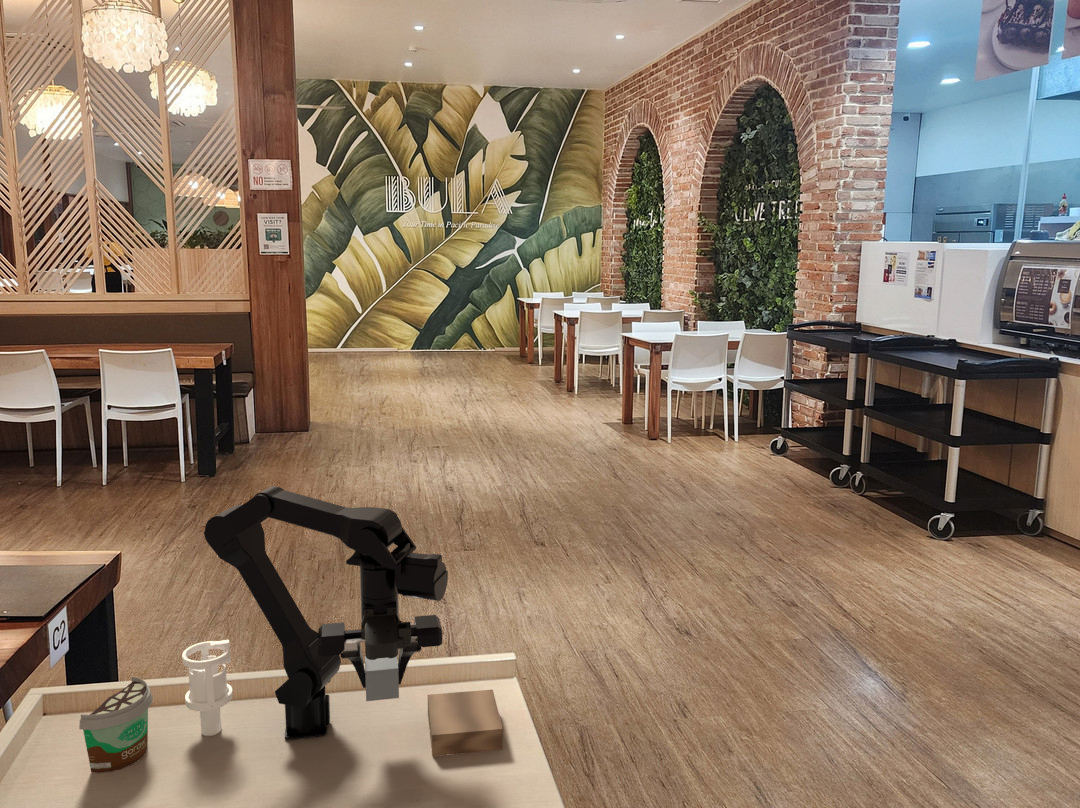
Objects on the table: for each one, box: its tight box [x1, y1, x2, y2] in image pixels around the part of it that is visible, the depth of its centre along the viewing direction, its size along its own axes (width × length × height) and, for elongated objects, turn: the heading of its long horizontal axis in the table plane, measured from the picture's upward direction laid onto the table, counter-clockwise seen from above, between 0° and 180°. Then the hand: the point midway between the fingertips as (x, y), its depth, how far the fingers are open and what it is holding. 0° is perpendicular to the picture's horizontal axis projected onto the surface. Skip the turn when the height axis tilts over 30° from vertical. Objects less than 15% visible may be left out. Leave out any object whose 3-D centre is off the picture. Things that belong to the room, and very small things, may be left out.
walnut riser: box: [427, 689, 504, 757], centre depth 138 cm, size 11×12×4 cm
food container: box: [78, 676, 154, 774], centre depth 130 cm, size 12×6×10 cm, turn 168°
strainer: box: [181, 639, 234, 737], centre depth 136 cm, size 7×7×15 cm
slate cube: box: [364, 655, 400, 702], centre depth 134 cm, size 5×5×5 cm
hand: (381, 685), depth 134 cm, fingers closed on slate cube, 5 cm apart
